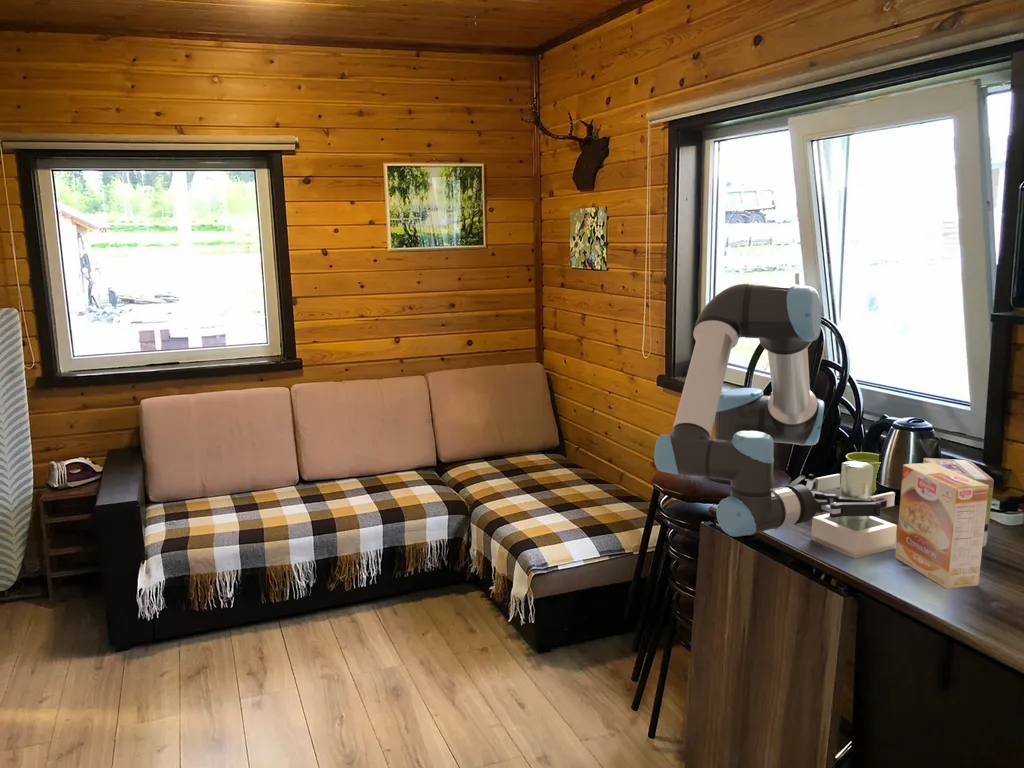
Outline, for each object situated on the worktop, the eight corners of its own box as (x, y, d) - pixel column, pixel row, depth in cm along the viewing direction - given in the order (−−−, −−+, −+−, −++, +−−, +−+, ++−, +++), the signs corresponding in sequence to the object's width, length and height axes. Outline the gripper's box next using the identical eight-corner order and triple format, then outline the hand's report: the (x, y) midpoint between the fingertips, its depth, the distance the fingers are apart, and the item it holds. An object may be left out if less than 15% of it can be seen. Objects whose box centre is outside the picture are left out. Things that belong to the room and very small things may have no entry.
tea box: (988, 548, 170) (995, 479, 167) (935, 544, 172) (941, 476, 169) (964, 522, 184) (970, 458, 181) (915, 519, 186) (921, 456, 183)
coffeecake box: (893, 557, 165) (901, 463, 161) (925, 554, 167) (933, 461, 163) (945, 589, 151) (955, 487, 147) (980, 586, 152) (990, 484, 148)
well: (810, 539, 175) (812, 517, 174) (849, 530, 180) (851, 508, 179) (855, 558, 165) (856, 535, 164) (895, 548, 170) (896, 525, 169)
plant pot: (868, 499, 199) (870, 464, 198) (835, 488, 207) (837, 455, 206) (892, 492, 204) (895, 458, 202) (859, 482, 212) (862, 450, 210)
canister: (830, 537, 173) (835, 463, 170) (850, 532, 176) (856, 459, 173) (853, 546, 168) (859, 471, 165) (874, 541, 171) (880, 467, 168)
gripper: (743, 504, 173) (817, 489, 183) (837, 545, 152) (916, 525, 161) (744, 470, 172) (819, 456, 181) (840, 506, 150) (919, 488, 159)
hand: (865, 489), depth 171 cm, fingers open, 13 cm apart
